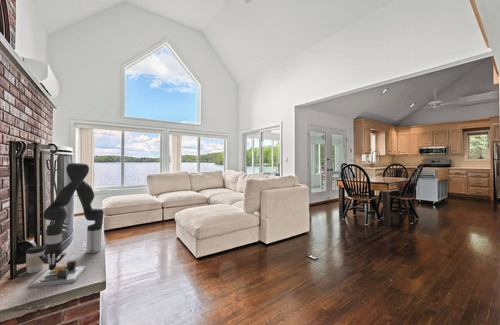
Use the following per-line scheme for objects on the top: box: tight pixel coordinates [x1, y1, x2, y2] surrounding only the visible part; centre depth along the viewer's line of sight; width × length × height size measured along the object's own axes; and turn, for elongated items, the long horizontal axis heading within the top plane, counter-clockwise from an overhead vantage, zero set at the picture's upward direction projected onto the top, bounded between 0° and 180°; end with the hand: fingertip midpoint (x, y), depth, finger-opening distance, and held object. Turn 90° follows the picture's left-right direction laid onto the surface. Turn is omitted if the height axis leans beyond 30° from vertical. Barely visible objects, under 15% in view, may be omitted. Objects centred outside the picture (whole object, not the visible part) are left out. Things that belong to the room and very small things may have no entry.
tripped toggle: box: [55, 264, 66, 274], centre depth 131 cm, size 2×4×5 cm, turn 109°
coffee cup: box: [25, 245, 45, 274], centre depth 137 cm, size 9×9×15 cm
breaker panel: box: [26, 260, 87, 288], centre depth 131 cm, size 16×22×7 cm
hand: (52, 269), depth 130 cm, fingers closed
